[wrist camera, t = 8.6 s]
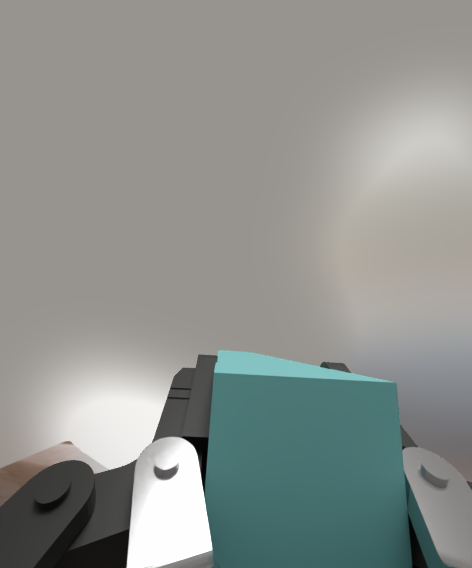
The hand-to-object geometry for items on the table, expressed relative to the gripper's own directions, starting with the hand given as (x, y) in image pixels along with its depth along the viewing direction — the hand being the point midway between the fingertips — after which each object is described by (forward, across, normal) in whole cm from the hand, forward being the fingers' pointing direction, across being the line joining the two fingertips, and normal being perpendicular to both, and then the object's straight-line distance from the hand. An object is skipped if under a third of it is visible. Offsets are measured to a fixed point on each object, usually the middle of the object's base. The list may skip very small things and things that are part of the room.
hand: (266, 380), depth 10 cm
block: (+7, 0, +8) cm, 10 cm away
